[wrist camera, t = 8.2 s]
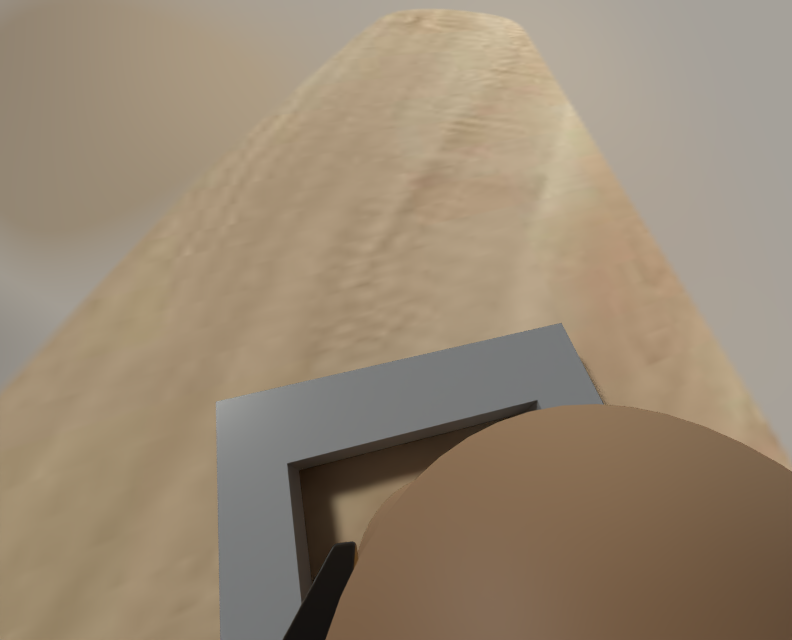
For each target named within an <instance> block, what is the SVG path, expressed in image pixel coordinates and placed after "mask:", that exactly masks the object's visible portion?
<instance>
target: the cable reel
mask: <svg viewBox="0 0 792 640" xmlns="http://www.w3.org/2000/svg"><path fill="white" fill-rule="evenodd" d="M326 640H792V472H791V471H790V470H788V469H787V468H785V467H784V466H782V465H781V464H779V463H777V462H775V461H774V460H772V459H770V458H768V457H766V456H765V455H763V454H761V453H759V452H757V451H756V450H754V449H752V448H750V447H748V446H747V445H745V444H743V443H741V442H739V441H736V440H734V439H732V438H729V437H727V436H725V435H723V434H720V433H718V432H716V431H713V430H711V429H709V428H707V427H704V426H701V425H698V424H695V423H692V422H689V421H686V420H683V419H680V418H677V417H674V416H670V415H667V414H663V413H658V412H653V411H648V410H643V409H638V408H634V407H626V406H614V405H602V404H586V405H563V406H557V407H552V408H546V409H541V410H535V411H530V412H527V413H524V414H521V415H518V416H515V417H512V418H509V419H506V420H503V421H500V422H497V423H495V424H493V425H491V426H489V427H487V428H485V429H483V430H481V431H479V432H477V433H475V434H473V435H471V436H469V437H468V438H466V439H465V440H463V441H462V442H460V443H459V444H458V445H456V446H455V447H453V448H452V449H450V450H449V451H448V452H446V453H445V454H443V455H442V456H440V457H439V458H438V459H437V460H436V461H435V462H434V463H433V464H431V465H430V466H429V467H428V468H427V469H426V470H425V471H424V472H423V473H422V474H421V475H420V476H419V477H418V478H416V479H415V480H414V481H413V482H411V483H409V484H407V485H405V486H403V487H402V488H400V489H399V490H398V491H396V492H395V493H394V494H392V495H391V496H390V497H389V498H388V499H387V500H386V501H385V502H384V503H383V504H382V506H381V507H380V508H379V509H378V510H377V512H376V513H375V515H374V517H373V518H372V520H371V521H370V523H369V525H368V527H367V529H366V531H365V533H364V535H363V538H362V541H361V544H360V547H359V550H358V562H357V564H356V566H355V568H354V570H353V572H352V574H351V576H350V578H349V580H348V582H347V585H346V587H345V589H344V591H343V593H342V595H341V597H340V600H339V603H338V606H337V609H336V611H335V614H334V617H333V620H332V623H331V626H330V629H329V631H328V634H327V637H326Z"/></svg>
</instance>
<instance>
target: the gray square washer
mask: <svg viewBox="0 0 792 640" xmlns="http://www.w3.org/2000/svg"><path fill="white" fill-rule="evenodd" d="M586 404H602V405H604V404H603V402H602V400H601V398H600V396H599V394H598V393H597V391H596V389H595V387H594V385H593V383H592V381H591V379H590V377H589V375H588V373H587V371H586V369H585V368H584V366H583V364H582V362H581V360H580V358H579V356H578V354H577V352H576V350H575V348H574V346H573V344H572V343H571V341H570V339H569V337H568V335H567V333H566V331H565V329H564V327H563V325H562V323H559V324H555V325H550V326H546V327H542V328H537V329H533V330H528V331H524V332H520V333H515V334H511V335H506V336H502V337H498V338H493V339H489V340H485V341H480V342H476V343H471V344H467V345H463V346H458V347H454V348H449V349H445V350H441V351H436V352H432V353H428V354H423V355H419V356H414V357H410V358H406V359H401V360H397V361H392V362H388V363H384V364H379V365H375V366H371V367H366V368H362V369H357V370H353V371H349V372H344V373H340V374H335V375H331V376H327V377H322V378H318V379H314V380H309V381H305V382H300V383H296V384H292V385H287V386H283V387H278V388H274V389H270V390H265V391H261V392H257V393H252V394H248V395H243V396H239V397H235V398H230V399H226V400H221V401H217V402H216V431H217V484H218V537H219V590H220V640H283V638H284V636H285V634H286V632H287V630H288V628H289V627H290V625H291V623H292V621H293V619H294V617H295V615H296V614H297V612H298V610H299V608H300V606H301V604H302V602H303V601H304V599H305V597H306V595H307V593H308V591H309V589H310V588H311V586H312V579H311V570H310V561H309V553H308V544H307V536H306V527H305V518H304V510H303V501H302V493H301V484H300V475H299V470H302V469H306V468H310V467H314V466H318V465H322V464H326V463H330V462H333V461H337V460H341V459H345V458H349V457H353V456H357V455H361V454H365V453H369V452H373V451H376V450H380V449H384V448H388V447H392V446H396V445H400V444H404V443H408V442H412V441H415V440H419V439H423V438H427V437H431V436H435V435H439V434H443V433H447V432H451V431H455V430H458V429H462V428H466V427H470V426H474V425H478V424H482V423H486V422H490V421H494V420H497V419H501V418H505V417H509V416H513V415H517V414H521V413H523V414H524V413H527V412H530V411H535V410H541V409H546V408H552V407H557V406H563V405H586Z"/></svg>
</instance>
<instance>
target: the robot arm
mask: <svg viewBox="0 0 792 640" xmlns="http://www.w3.org/2000/svg"><path fill="white" fill-rule="evenodd" d="M357 562H358V552H357V546H356V543H355V542H345V543H337V544H335V545H334V546H333V547H332V549H331V551H330V552H329V554H328V556H327V558H326V560H325V562H324V564H323V565H322V567H321V569H320V571H319V573H318V575H317V576H316V578H315V580H314V582H313V584H312V586H311V588H310V589H309V591H308V593H307V595H306V597H305V599H304V601H303V602H302V604H301V606H300V608H299V610H298V612H297V614H296V615H295V617H294V619H293V621H292V623H291V625H290V627H289V628H288V630H287V632H286V634H285V636H284V638H283V640H326V637H327V634H328V631H329V629H330V626H331V623H332V620H333V617H334V614H335V611H336V609H337V606H338V603H339V600H340V597H341V595H342V593H343V591H344V589H345V587H346V585H347V582H348V580H349V578H350V576H351V574H352V572H353V570H354V568H355V566H356V564H357Z"/></svg>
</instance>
